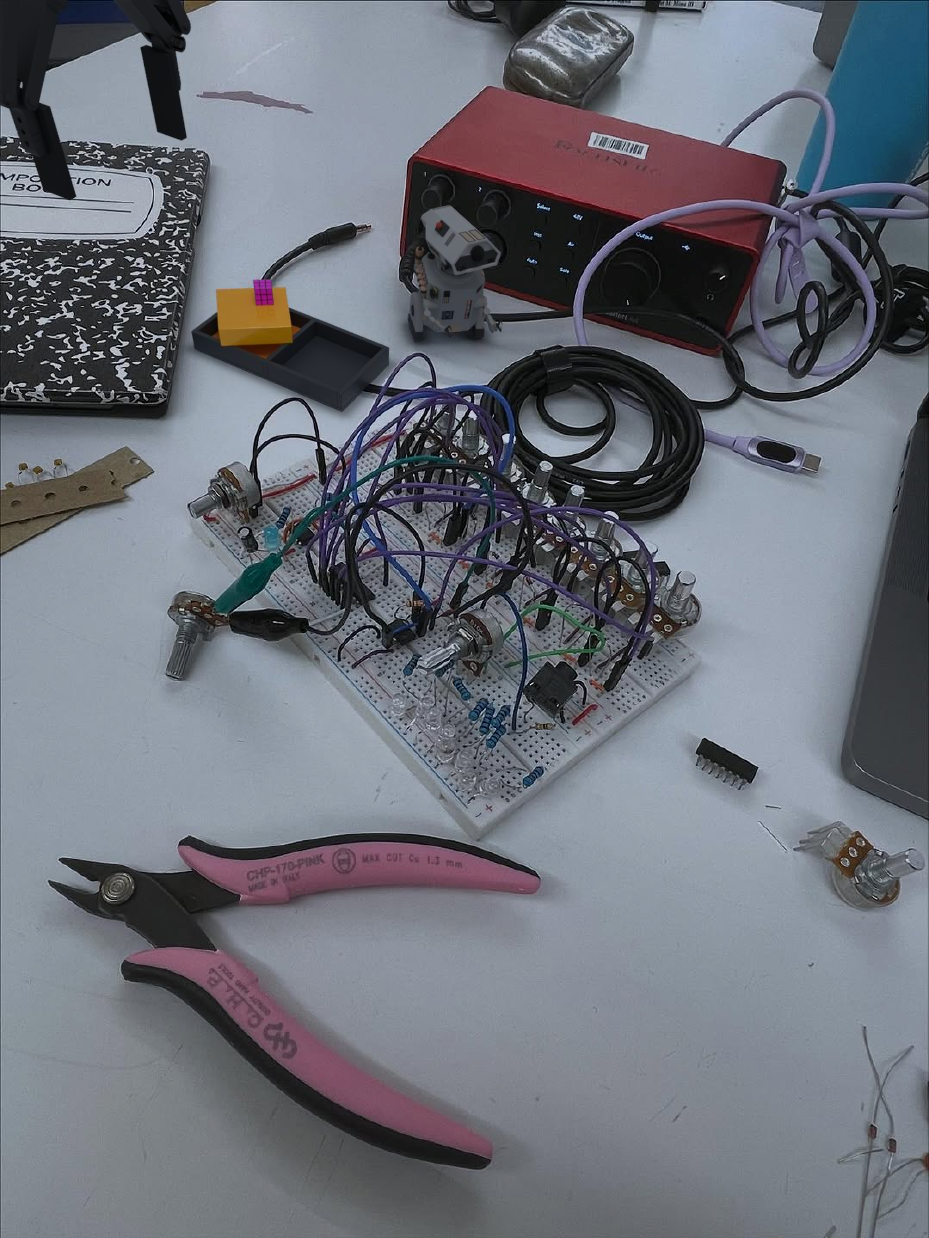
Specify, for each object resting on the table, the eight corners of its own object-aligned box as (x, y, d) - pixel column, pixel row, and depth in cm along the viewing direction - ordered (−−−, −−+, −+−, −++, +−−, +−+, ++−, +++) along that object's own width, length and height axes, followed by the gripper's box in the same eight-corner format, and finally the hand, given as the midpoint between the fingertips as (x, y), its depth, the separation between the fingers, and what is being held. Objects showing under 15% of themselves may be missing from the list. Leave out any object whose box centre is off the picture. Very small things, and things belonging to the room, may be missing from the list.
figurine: (423, 372, 94) (431, 251, 82) (405, 316, 100) (410, 196, 88) (496, 368, 96) (514, 248, 84) (474, 313, 102) (488, 195, 90)
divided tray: (194, 349, 92) (190, 331, 90) (248, 307, 98) (245, 290, 96) (342, 411, 88) (341, 394, 86) (389, 364, 94) (389, 347, 92)
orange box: (293, 343, 91) (290, 310, 87) (221, 346, 89) (215, 312, 86) (287, 303, 95) (284, 270, 92) (218, 306, 94) (213, 272, 90)
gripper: (-89, -150, 42) (43, 238, 59) (207, -199, 56) (245, 126, 73) (-190, -180, 44) (-33, 207, 61) (123, -220, 58) (179, 103, 75)
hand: (119, 163), depth 67 cm, fingers open, 13 cm apart
